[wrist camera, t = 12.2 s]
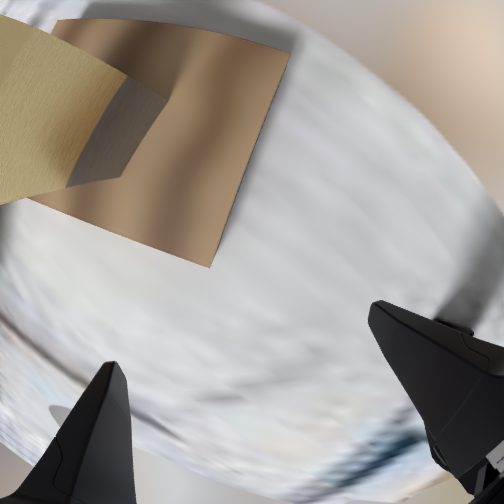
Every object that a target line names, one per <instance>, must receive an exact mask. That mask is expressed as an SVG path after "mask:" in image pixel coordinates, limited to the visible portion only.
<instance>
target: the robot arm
mask: <svg viewBox="0 0 504 504" xmlns="http://www.w3.org/2000/svg"><path fill="white" fill-rule="evenodd" d="M368 324H369V327H370V329H371V331H372V333H373V335H374V337H375V339H376V341H377V343H378V345H379V347H380V349H381V351H382V353H383V355H384V357H385V358H386V360H387V362H388V363H389V365H390V366H391V368H392V370H393V371H394V373H395V374H396V376H397V378H398V379H399V381H400V382H401V384H402V386H403V387H404V389H405V391H406V392H407V394H408V395H409V397H410V399H411V400H412V402H413V404H414V405H415V407H416V409H417V411H418V412H419V414H420V416H421V417H422V419H423V421H424V425H425V430H426V434H427V438H428V442H429V446H430V451H431V455H432V458H433V459H434V461H435V463H437V464H439V465H440V466H441V467H442V468H443V469H444V470H446V471H449V472H450V473H452V474H453V475H454V477H455V478H456V479H458V480H459V482H460V483H461V484H462V486H463V487H464V488H465V490H466V491H467V493H469V494H472V495H474V497H475V498H474V499H473V500H472V501H471V502H470V503H468V504H504V347H502V346H498V345H495V344H492V343H489V342H486V341H483V340H480V339H477V338H475V337H473V335H474V332H473V331H472V330H471V329H469V328H466V327H463V326H460V325H457V324H455V323H452V322H449V321H446V320H443V319H441V318H437V319H436V320H434V321H433V320H430V319H428V318H425V317H423V316H420V315H418V314H415V313H413V312H410V311H408V310H405V309H403V308H401V307H398V306H396V305H393V304H391V303H388V302H386V301H383V300H379V301H376V302H373V303H372V304H371V307H370V312H369V316H368ZM0 504H137V503H136V494H135V484H134V472H133V456H132V429H131V415H130V407H129V398H128V389H127V380H126V377H125V375H124V373H123V372H122V370H121V368H120V366H119V365H118V363H117V362H116V361H109V362H105V363H104V364H103V365H102V366H101V368H100V369H99V371H98V372H97V374H96V375H95V376H94V378H93V379H92V381H91V382H90V384H89V385H88V387H87V388H86V390H85V391H84V392H83V394H82V395H81V397H80V398H79V400H78V401H77V403H76V404H75V406H74V407H73V409H72V411H71V412H70V414H69V415H68V417H67V418H66V420H65V421H64V423H63V425H62V426H61V428H60V429H59V431H58V432H57V434H56V437H54V439H53V440H52V442H51V443H50V445H49V446H48V448H47V450H46V451H45V453H44V454H43V456H42V457H41V458H40V460H39V461H38V463H37V464H36V465H35V467H34V468H33V469H32V471H31V472H30V473H29V475H28V476H27V477H26V479H25V480H24V481H23V483H22V484H21V486H20V487H19V488H18V489H17V490H16V491H15V492H14V493H12V494H11V495H9V496H6V497H3V498H1V499H0Z"/></svg>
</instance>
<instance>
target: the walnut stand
mask: <svg viewBox="0 0 504 504" xmlns="http://www.w3.org/2000/svg"><path fill="white" fill-rule="evenodd" d="M51 35H53V36H55V37H57V38H59V39H61V40H63V41H65V42H67V43H69V44H71V45H73V46H75V47H77V48H79V49H81V50H82V51H84V52H86V53H88V54H90V55H92V56H94V57H96V58H97V59H99V60H101V61H103V62H105V63H106V64H108V65H110V66H112V67H113V68H115V69H117V70H119V71H120V72H122V73H124V74H126V75H127V76H129V77H131V78H132V79H134V80H136V81H137V82H139V83H141V84H142V85H144V86H146V87H147V88H149V89H150V90H152V91H154V92H155V93H157V94H159V95H160V96H162V97H163V98H165V99H166V100H168V103H167V104H166V106H165V107H164V108H163V110H162V111H161V113H160V114H159V116H158V117H157V119H156V120H155V122H154V123H153V124H152V126H151V128H150V129H149V131H148V132H147V134H146V135H145V137H144V138H143V140H142V141H141V143H140V145H139V146H138V148H137V150H136V151H135V153H134V154H133V156H132V158H131V159H130V161H129V163H128V165H127V166H126V168H125V170H124V171H123V173H122V175H121V177H119V178H113V179H108V180H102V181H97V182H92V183H87V184H82V185H77V186H73V187H68V188H64V189H59V190H55V191H51V192H47V193H43V194H39V195H35V196H31V197H27V198H29V199H31V200H33V201H36V202H38V203H41V204H43V205H45V206H48V207H50V208H53V209H55V210H58V211H60V212H63V213H65V214H67V215H70V216H72V217H75V218H77V219H80V220H82V221H85V222H88V223H90V224H93V225H95V226H98V227H100V228H103V229H105V230H108V231H111V232H113V233H116V234H118V235H121V236H123V237H126V238H129V239H131V240H134V241H137V242H139V243H142V244H145V245H147V246H150V247H153V248H155V249H158V250H161V251H163V252H166V253H169V254H172V255H174V256H177V257H180V258H183V259H185V260H188V261H191V262H194V263H196V264H199V265H202V266H205V267H208V268H210V266H211V264H212V261H213V259H214V257H215V254H216V251H217V248H218V245H219V242H220V240H221V237H222V234H223V231H224V228H225V225H226V222H227V220H228V217H229V214H230V211H231V208H232V206H233V203H234V200H235V197H236V195H237V192H238V189H239V186H240V184H241V181H242V178H243V176H244V173H245V170H246V168H247V165H248V162H249V160H250V157H251V154H252V152H253V149H254V146H255V144H256V141H257V139H258V136H259V133H260V131H261V128H262V126H263V123H264V121H265V118H266V115H267V113H268V110H269V108H270V105H271V103H272V100H273V98H274V95H275V93H276V90H277V88H278V86H279V83H280V81H281V78H282V76H283V73H284V71H285V68H286V66H287V63H288V60H289V57H290V54H289V53H286V52H283V51H280V50H277V49H274V48H271V47H268V46H265V45H262V44H258V43H255V42H252V41H248V40H245V39H241V38H237V37H233V36H229V35H225V34H221V33H217V32H212V31H207V30H202V29H197V28H192V27H186V26H180V25H174V24H167V23H159V22H150V21H139V20H125V19H66V20H58V21H57V23H56V25H55V27H54V29H53V31H52V33H51Z"/></svg>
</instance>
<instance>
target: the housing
mask: <svg viewBox="0 0 504 504" xmlns="http://www.w3.org/2000/svg"><path fill="white" fill-rule="evenodd" d="M167 103H168V100H166V99H165V98H163V97H162V96H160V95H159V94H157V93H155V92H154V91H152V90H150V89H149V88H147V87H146V86H144V85H142V84H141V83H139V82H137V81H136V80H134V79H132V78H131V77H129V76H127V75H126V74H124V73H122V72H120V71H119V70H117V69H115V68H113V67H112V66H110V65H108V64H106V63H105V62H103V61H101V60H99V59H97V58H96V57H94V56H92V55H90V54H88V53H86V52H84V51H82V50H81V49H79V48H77V47H75V46H73V45H71V44H69V43H67V42H65V41H63V40H61V39H59V38H57V37H55V36H53V35H50V34H48V33H46V32H44V31H42V30H40V29H38V28H35V27H33V26H30V25H28V24H25V23H23V22H20V21H17V20H15V19H12V18H9V17H6V16H3V15H0V205H2V204H5V203H9V202H12V201H16V200H20V199H23V198H27V197H31V196H35V195H39V194H43V193H47V192H51V191H55V190H59V189H64V188H68V187H73V186H77V185H82V184H87V183H92V182H97V181H102V180H108V179H113V178H119V177H121V175H122V173H123V171H124V170H125V168H126V166H127V165H128V163H129V161H130V159H131V158H132V156H133V154H134V153H135V151H136V150H137V148H138V146H139V145H140V143H141V141H142V140H143V138H144V137H145V135H146V134H147V132H148V131H149V129H150V128H151V126H152V124H153V123H154V122H155V120H156V119H157V117H158V116H159V114H160V113H161V111H162V110H163V108H164V107H165V106H166V104H167Z"/></svg>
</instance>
